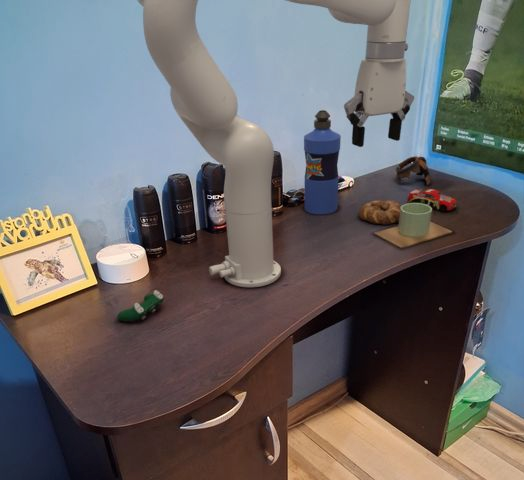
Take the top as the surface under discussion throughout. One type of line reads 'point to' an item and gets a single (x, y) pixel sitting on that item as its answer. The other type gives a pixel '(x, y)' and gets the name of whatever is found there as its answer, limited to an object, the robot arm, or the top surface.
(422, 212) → the green cup
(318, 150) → the water bottle
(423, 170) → the brown grey arched frame
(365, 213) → the seeded bagel
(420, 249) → the top surface
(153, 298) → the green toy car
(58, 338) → the top surface
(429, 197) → the race car
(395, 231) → the cork mat
